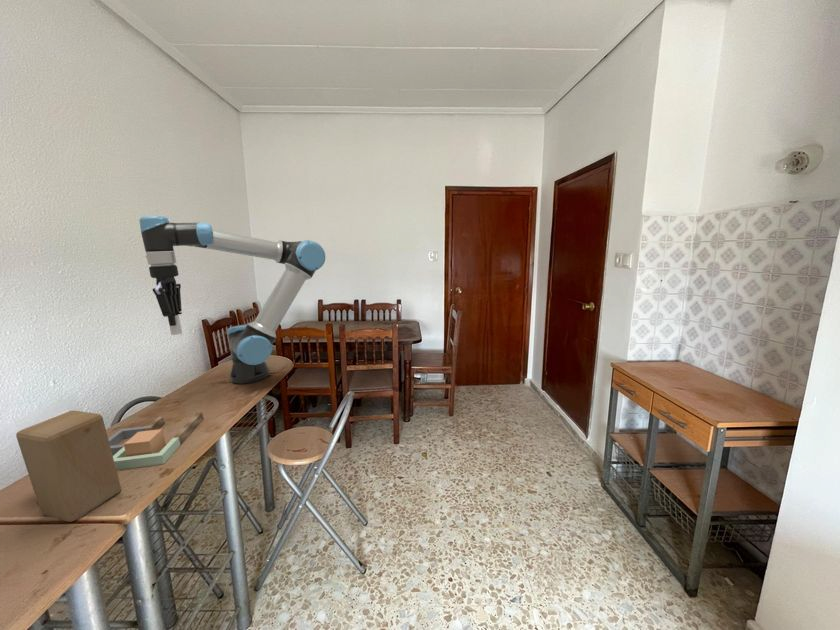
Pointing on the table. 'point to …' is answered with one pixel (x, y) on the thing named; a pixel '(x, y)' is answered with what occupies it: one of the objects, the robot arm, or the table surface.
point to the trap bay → (122, 437)
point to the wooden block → (69, 464)
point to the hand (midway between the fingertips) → (176, 334)
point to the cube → (145, 443)
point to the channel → (184, 431)
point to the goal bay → (145, 457)
